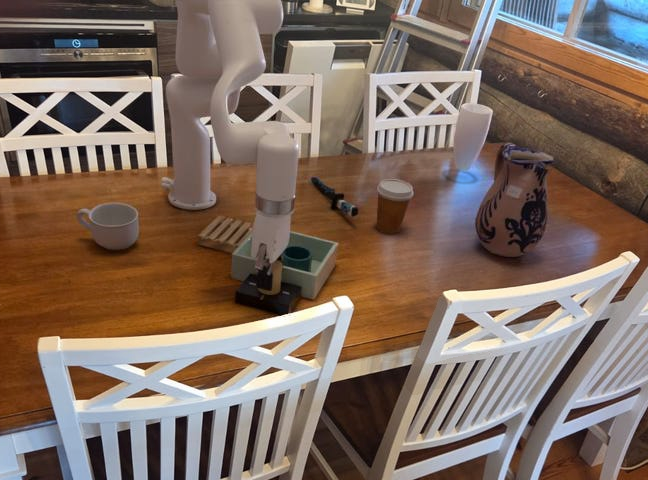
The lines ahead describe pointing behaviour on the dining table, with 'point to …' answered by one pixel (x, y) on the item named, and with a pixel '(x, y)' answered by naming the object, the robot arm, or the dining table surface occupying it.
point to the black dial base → (268, 297)
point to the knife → (335, 198)
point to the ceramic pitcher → (515, 202)
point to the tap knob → (274, 278)
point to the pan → (298, 258)
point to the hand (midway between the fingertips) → (269, 281)
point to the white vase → (470, 134)
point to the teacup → (112, 225)
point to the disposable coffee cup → (392, 204)
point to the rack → (228, 229)
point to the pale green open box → (309, 281)
